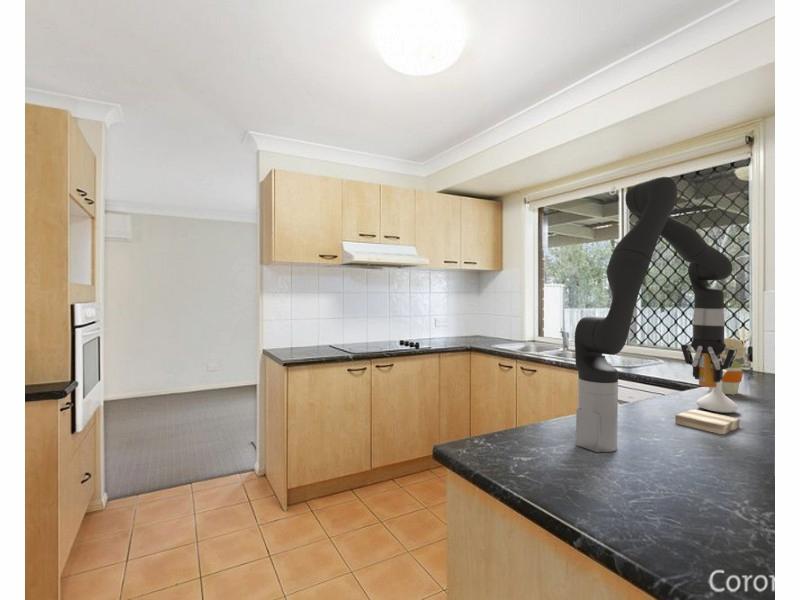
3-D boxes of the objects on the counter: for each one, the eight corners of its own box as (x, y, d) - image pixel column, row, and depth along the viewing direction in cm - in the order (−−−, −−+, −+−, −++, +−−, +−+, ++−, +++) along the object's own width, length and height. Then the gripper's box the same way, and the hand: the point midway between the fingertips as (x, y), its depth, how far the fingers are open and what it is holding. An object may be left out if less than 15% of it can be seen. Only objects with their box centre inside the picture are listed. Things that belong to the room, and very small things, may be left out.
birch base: (722, 434, 115) (722, 425, 115) (675, 423, 125) (675, 414, 125) (739, 427, 121) (739, 418, 121) (693, 416, 131) (693, 408, 131)
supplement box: (709, 385, 124) (709, 352, 124) (716, 387, 121) (717, 354, 121) (697, 384, 125) (698, 352, 125) (704, 387, 121) (705, 353, 121)
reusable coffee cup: (749, 393, 162) (750, 355, 162) (735, 397, 156) (735, 358, 156) (712, 387, 173) (713, 351, 173) (697, 390, 167) (698, 354, 167)
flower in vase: (692, 410, 139) (693, 336, 138) (700, 404, 146) (701, 334, 146) (741, 419, 129) (743, 339, 129) (747, 412, 137) (749, 337, 136)
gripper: (676, 322, 126) (675, 377, 127) (732, 325, 114) (731, 386, 115) (687, 321, 130) (686, 375, 131) (743, 324, 119) (741, 383, 119)
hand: (707, 380), depth 123 cm, fingers closed on supplement box, 4 cm apart
